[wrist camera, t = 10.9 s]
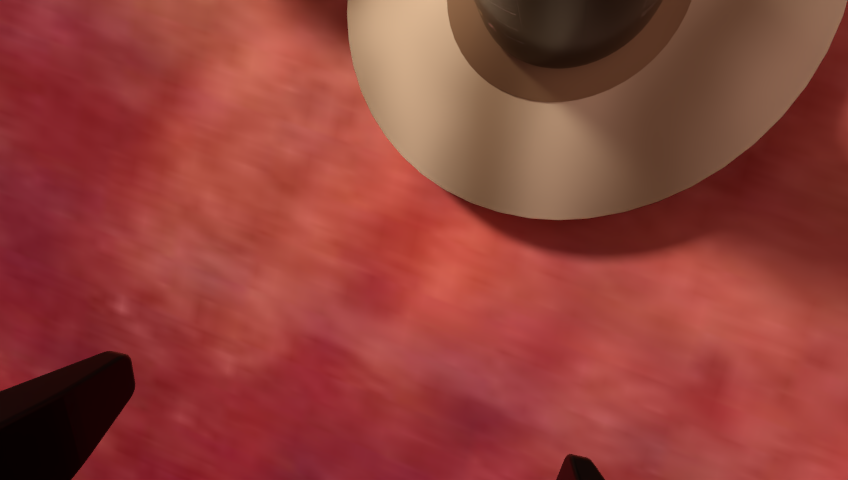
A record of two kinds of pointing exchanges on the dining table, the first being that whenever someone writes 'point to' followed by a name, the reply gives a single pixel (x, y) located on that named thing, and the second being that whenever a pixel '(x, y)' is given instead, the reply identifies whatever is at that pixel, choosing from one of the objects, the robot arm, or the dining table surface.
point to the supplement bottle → (564, 28)
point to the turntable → (583, 100)
